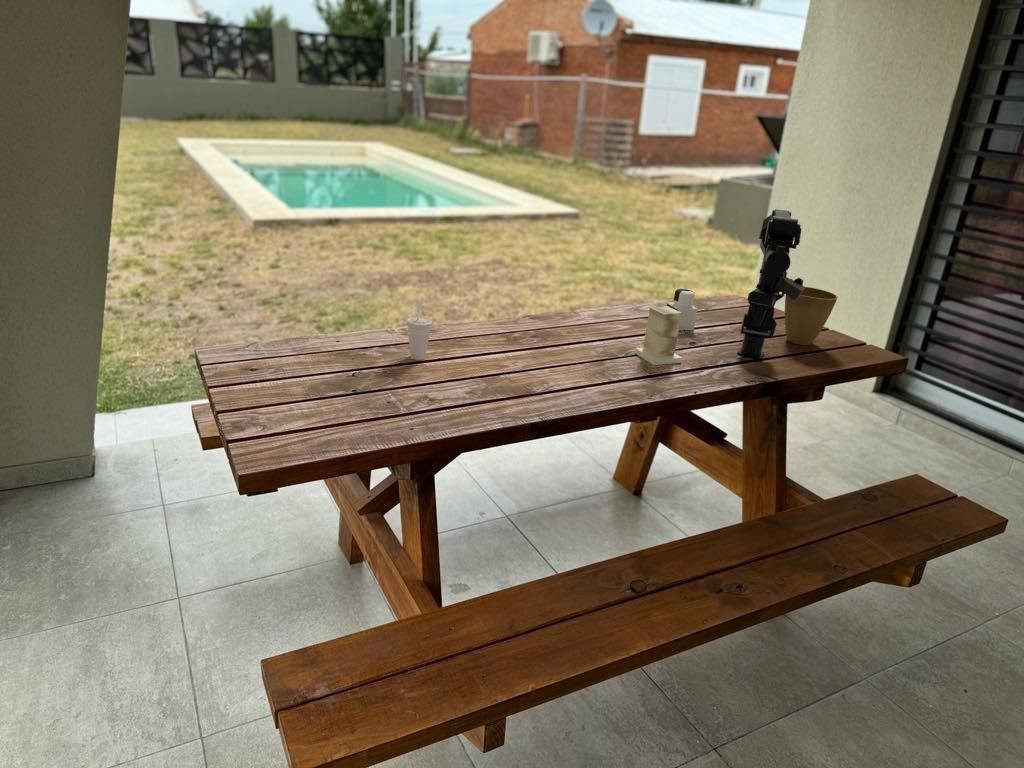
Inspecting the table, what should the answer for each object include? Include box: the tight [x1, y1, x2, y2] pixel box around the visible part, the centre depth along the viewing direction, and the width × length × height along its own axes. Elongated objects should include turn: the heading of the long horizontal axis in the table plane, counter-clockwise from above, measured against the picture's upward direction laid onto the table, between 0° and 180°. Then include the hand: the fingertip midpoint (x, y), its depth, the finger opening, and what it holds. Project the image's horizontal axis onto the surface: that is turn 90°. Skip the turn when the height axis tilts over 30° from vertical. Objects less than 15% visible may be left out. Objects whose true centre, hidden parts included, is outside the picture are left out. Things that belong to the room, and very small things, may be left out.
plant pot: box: [784, 286, 838, 346], centre depth 228 cm, size 15×15×16 cm
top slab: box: [634, 347, 683, 366], centre depth 201 cm, size 9×9×2 cm
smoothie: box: [406, 302, 433, 361], centre depth 185 cm, size 6×6×14 cm
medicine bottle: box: [666, 288, 699, 332], centre depth 231 cm, size 7×7×12 cm
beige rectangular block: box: [642, 305, 682, 357], centre depth 199 cm, size 6×6×12 cm
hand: (761, 323), depth 199 cm, fingers open, 9 cm apart
